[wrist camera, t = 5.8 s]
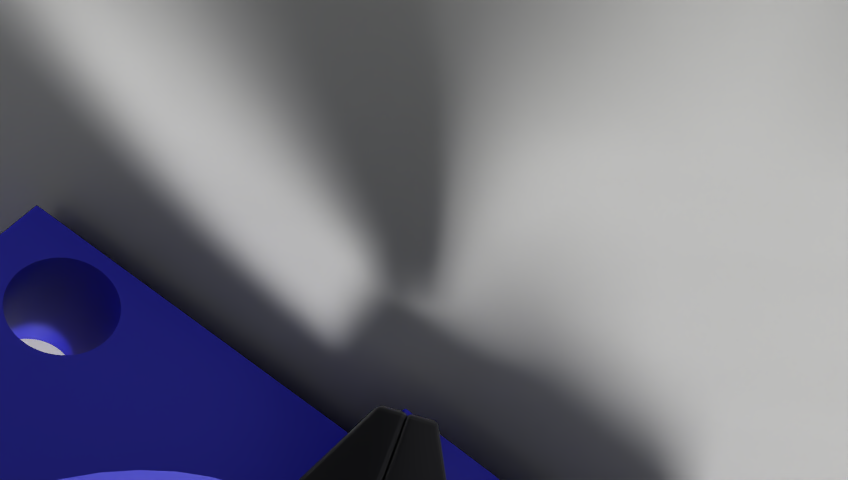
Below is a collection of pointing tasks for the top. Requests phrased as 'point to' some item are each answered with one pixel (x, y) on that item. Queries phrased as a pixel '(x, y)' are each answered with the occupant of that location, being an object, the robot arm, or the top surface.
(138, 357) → the cable clip
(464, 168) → the top surface
